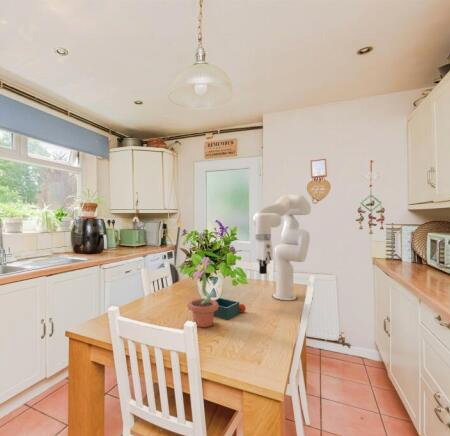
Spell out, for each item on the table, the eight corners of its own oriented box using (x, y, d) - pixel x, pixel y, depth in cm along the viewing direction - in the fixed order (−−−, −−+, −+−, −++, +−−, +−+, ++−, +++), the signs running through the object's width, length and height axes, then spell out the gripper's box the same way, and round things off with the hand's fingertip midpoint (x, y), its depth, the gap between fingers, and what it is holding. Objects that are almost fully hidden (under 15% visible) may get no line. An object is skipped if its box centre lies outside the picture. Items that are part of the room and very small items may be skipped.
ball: (240, 309, 141) (239, 302, 141) (247, 310, 139) (246, 303, 138) (236, 313, 138) (235, 305, 138) (244, 314, 136) (242, 306, 135)
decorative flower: (184, 318, 129) (184, 254, 129) (212, 316, 132) (212, 254, 132) (191, 331, 115) (191, 259, 114) (222, 329, 117) (223, 259, 117)
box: (219, 308, 144) (219, 297, 144) (239, 313, 137) (239, 302, 137) (206, 314, 135) (206, 302, 135) (227, 319, 128) (227, 308, 128)
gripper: (278, 238, 134) (277, 276, 134) (262, 236, 148) (262, 270, 149) (264, 239, 132) (264, 277, 132) (249, 236, 147) (249, 271, 147)
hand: (263, 273), depth 140 cm, fingers closed
